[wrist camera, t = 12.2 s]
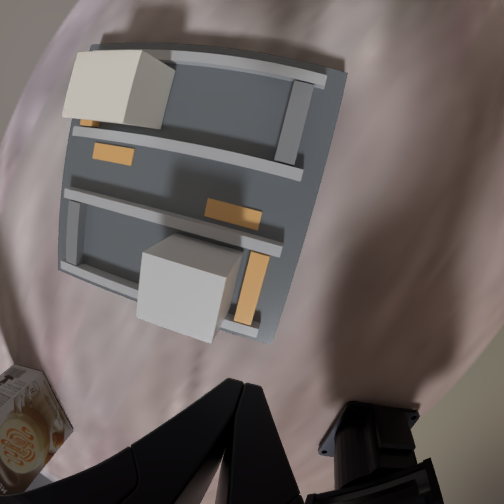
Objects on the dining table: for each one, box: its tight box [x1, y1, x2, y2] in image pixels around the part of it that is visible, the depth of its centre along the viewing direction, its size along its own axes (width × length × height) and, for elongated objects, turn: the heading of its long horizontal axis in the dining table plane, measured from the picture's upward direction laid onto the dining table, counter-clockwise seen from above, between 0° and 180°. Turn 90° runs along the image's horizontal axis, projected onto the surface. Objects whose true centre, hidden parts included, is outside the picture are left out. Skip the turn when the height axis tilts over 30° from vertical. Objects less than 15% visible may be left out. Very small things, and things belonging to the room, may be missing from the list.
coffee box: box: [0, 364, 73, 495], centre depth 20 cm, size 9×6×16 cm
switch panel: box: [58, 43, 348, 345], centre depth 17 cm, size 16×16×2 cm
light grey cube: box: [136, 233, 243, 344], centre depth 16 cm, size 4×4×4 cm
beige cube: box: [62, 50, 175, 130], centre depth 14 cm, size 4×4×4 cm
